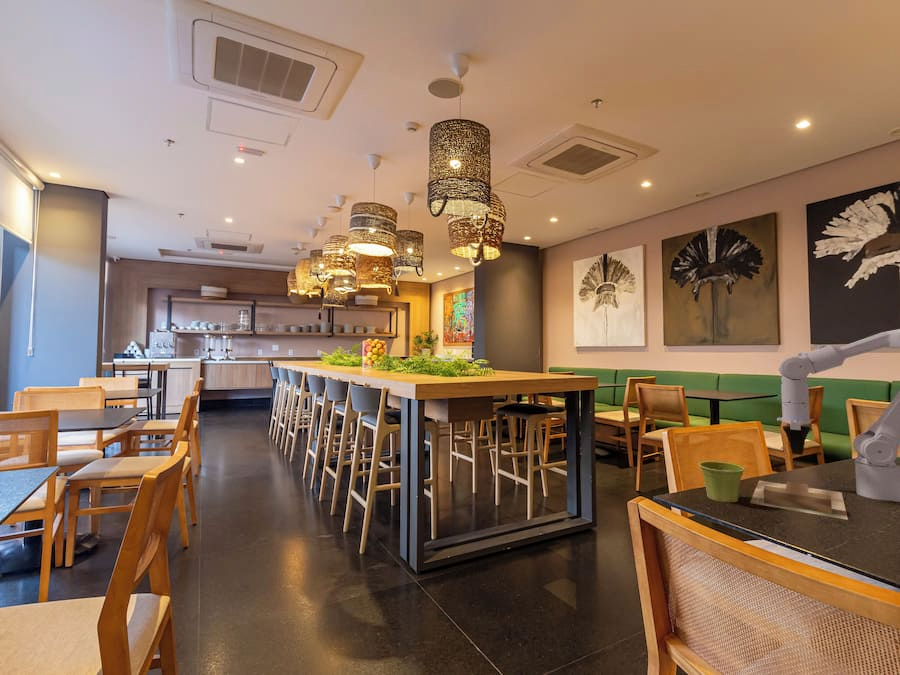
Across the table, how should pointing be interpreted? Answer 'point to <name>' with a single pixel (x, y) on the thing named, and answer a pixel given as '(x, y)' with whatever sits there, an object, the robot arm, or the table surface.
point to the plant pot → (722, 480)
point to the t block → (798, 498)
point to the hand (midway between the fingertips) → (797, 454)
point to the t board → (836, 503)
